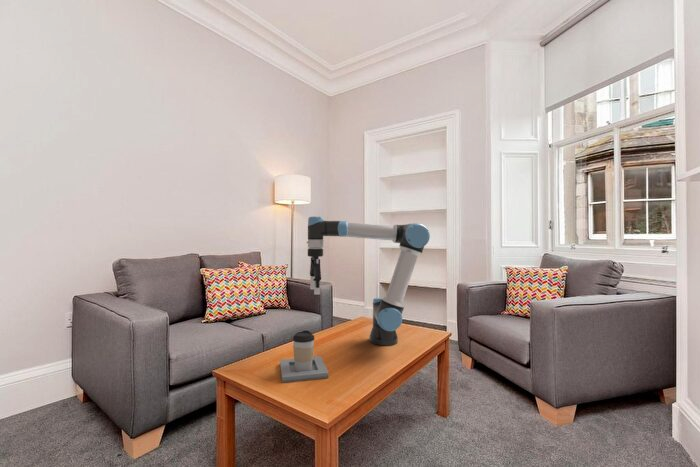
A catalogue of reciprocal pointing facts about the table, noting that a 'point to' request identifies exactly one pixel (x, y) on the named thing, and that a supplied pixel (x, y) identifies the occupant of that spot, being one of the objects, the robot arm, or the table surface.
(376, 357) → the table surface
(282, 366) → the frame
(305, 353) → the coffee cup
